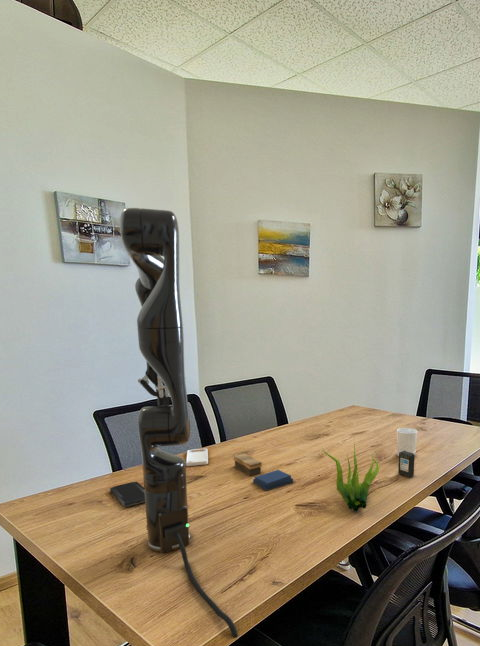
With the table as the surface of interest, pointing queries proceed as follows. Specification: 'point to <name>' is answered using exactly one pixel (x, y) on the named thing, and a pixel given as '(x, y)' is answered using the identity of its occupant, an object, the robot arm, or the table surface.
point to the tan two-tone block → (247, 464)
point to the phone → (129, 494)
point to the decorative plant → (354, 484)
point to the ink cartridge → (406, 463)
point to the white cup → (406, 440)
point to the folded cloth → (272, 479)
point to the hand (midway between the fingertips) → (164, 409)
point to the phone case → (197, 457)
